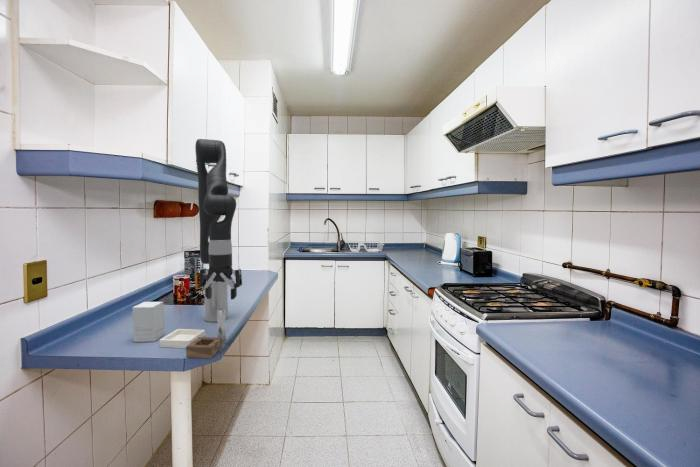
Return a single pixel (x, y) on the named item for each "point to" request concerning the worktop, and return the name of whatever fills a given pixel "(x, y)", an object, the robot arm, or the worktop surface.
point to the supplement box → (148, 321)
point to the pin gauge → (221, 325)
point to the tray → (181, 338)
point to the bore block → (204, 347)
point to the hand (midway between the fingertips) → (221, 298)
